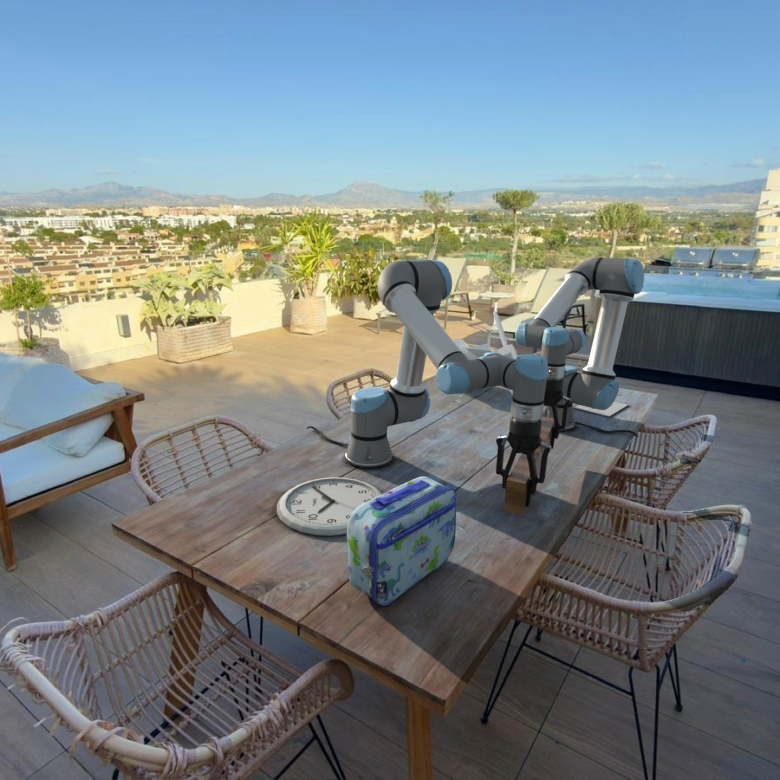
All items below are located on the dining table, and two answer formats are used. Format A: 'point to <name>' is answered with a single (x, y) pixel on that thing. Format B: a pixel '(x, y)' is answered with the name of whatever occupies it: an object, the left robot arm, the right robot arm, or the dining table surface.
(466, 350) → the white plastic object
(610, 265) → the right robot arm
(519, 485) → the board
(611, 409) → the invitation card
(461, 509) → the dining table surface
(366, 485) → the wall clock
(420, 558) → the lunch box
